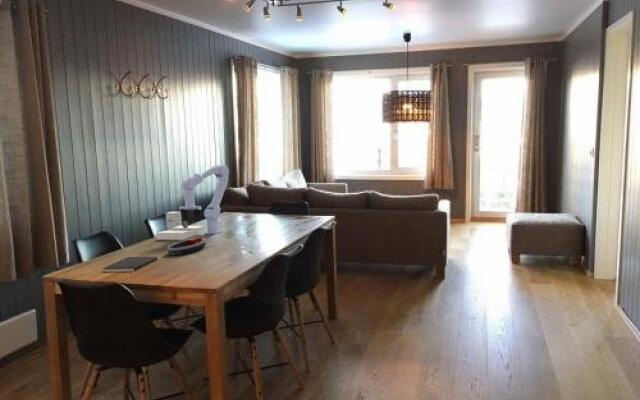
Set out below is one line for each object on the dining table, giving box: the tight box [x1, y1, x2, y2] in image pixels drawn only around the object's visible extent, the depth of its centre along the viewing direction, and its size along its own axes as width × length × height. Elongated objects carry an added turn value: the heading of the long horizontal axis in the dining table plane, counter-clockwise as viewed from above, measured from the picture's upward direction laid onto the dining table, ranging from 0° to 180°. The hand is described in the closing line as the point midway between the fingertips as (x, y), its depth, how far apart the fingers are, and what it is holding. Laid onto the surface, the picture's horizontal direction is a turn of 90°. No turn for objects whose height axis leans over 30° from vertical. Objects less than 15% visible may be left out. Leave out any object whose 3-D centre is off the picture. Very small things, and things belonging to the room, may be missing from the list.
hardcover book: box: [102, 256, 158, 273], centre depth 262 cm, size 16×23×2 cm
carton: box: [156, 229, 198, 242], centre depth 332 cm, size 16×18×4 cm
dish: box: [166, 236, 207, 256], centre depth 292 cm, size 16×31×5 cm, turn 159°
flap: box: [173, 220, 204, 229], centre depth 343 cm, size 8×18×4 cm, turn 69°
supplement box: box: [165, 211, 183, 231], centre depth 360 cm, size 7×7×13 cm
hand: (191, 221), depth 331 cm, fingers open, 7 cm apart
